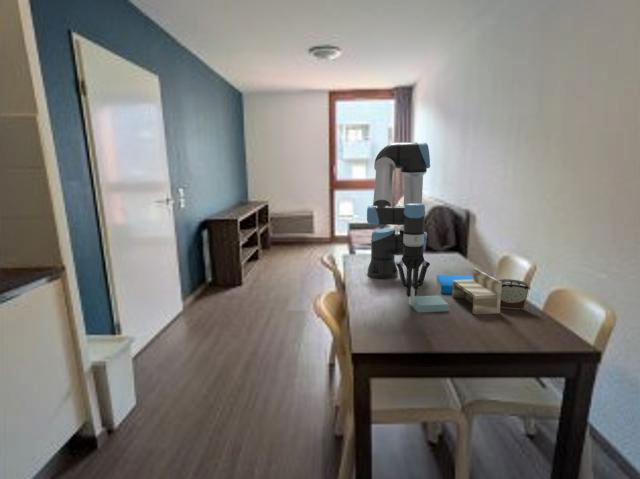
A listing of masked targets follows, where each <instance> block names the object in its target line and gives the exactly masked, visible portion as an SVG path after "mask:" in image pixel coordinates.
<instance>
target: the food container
mask: <svg viewBox="0 0 640 479" xmlns="http://www.w3.org/2000/svg"><path fill="white" fill-rule="evenodd" d="M498 280H499V281H501V282H502V289H501V302H500V309H501V308H502V309H511V310H520V309H522V311H525V307H526V301H527V298H528V292H529V291H531V287H530V284H529V283H527V282H525V281H522V280H518V279H511V278H510V279H508V278H504V279H503V278H502V279H498Z"/></svg>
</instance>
